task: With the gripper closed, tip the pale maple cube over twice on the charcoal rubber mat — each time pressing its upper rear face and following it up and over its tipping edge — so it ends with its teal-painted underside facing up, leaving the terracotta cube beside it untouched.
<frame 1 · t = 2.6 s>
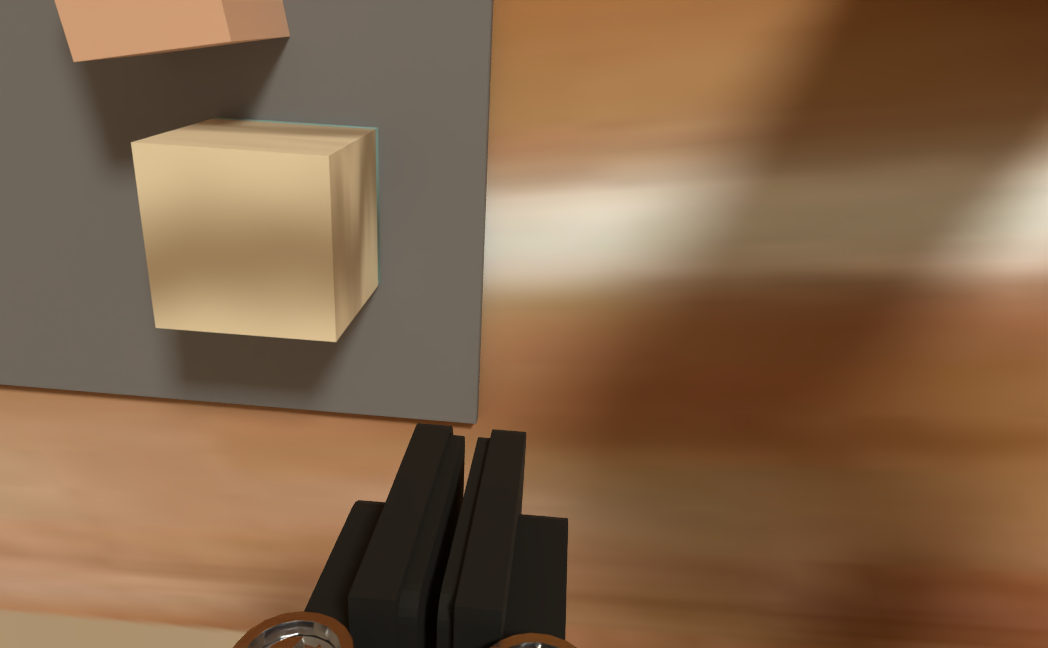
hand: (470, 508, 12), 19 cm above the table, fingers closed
maple block: (301, 202, 30), point 1 cm above the table, touching mat
mat: (132, 186, 31), on the table
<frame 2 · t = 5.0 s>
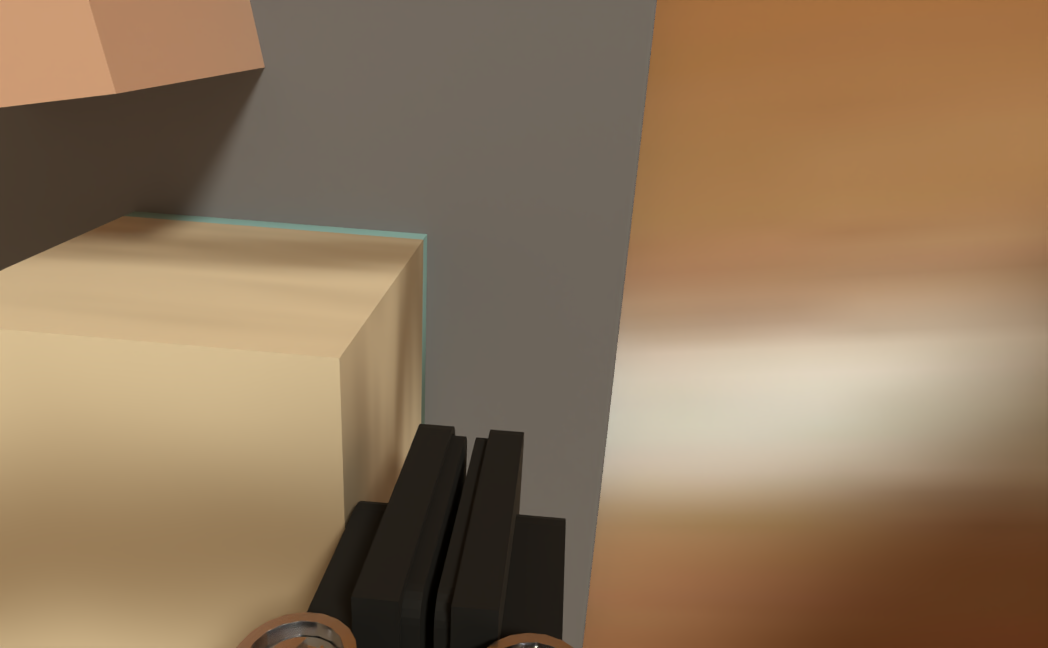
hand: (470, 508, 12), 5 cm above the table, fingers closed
maple block: (287, 358, 17), point 1 cm above the table, touching gripper, mat
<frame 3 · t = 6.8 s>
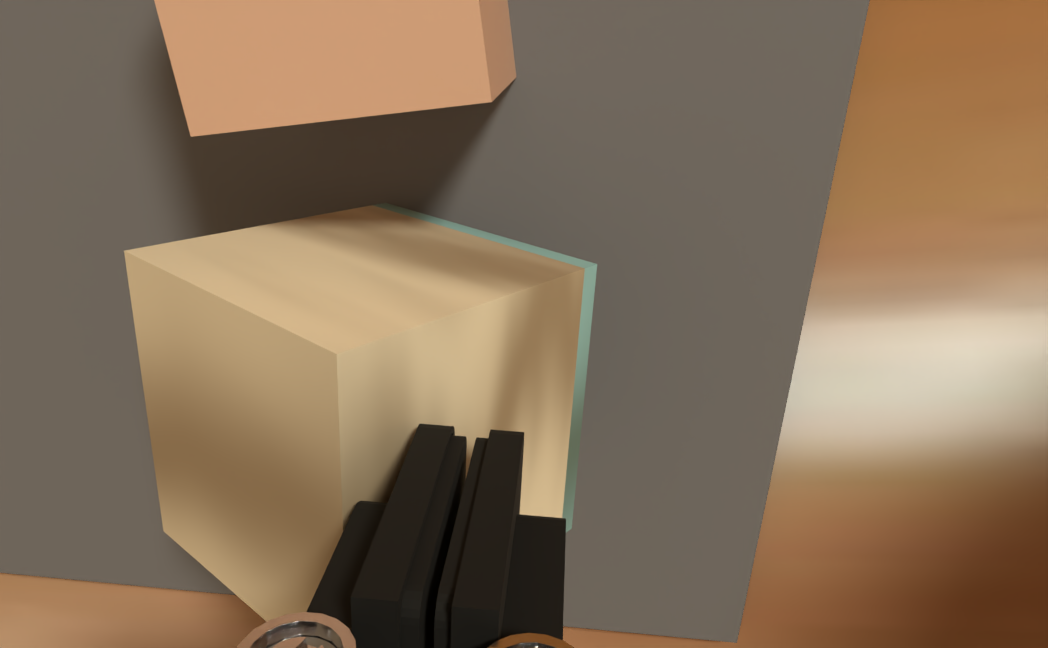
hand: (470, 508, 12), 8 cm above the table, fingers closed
maple block: (475, 359, 17), point 2 cm above the table, tilted 36°, touching gripper, mat
mat: (237, 301, 20), on the table
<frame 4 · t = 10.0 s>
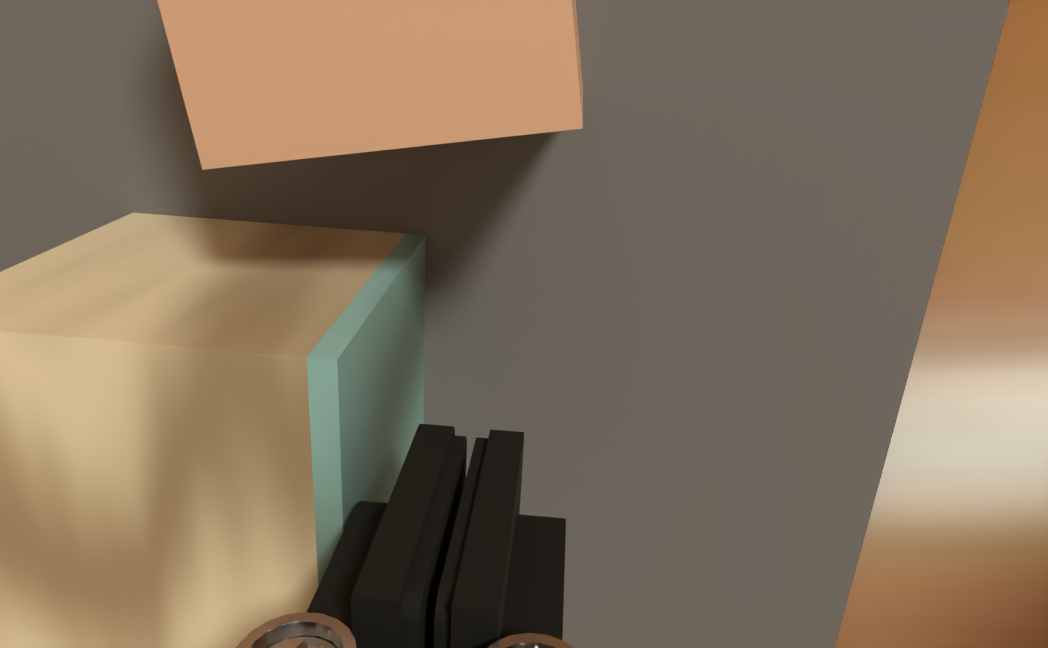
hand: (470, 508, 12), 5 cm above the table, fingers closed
maple block: (391, 442, 14), point 4 cm above the table, tilted 90°, touching gripper, mat
mat: (251, 344, 17), on the table
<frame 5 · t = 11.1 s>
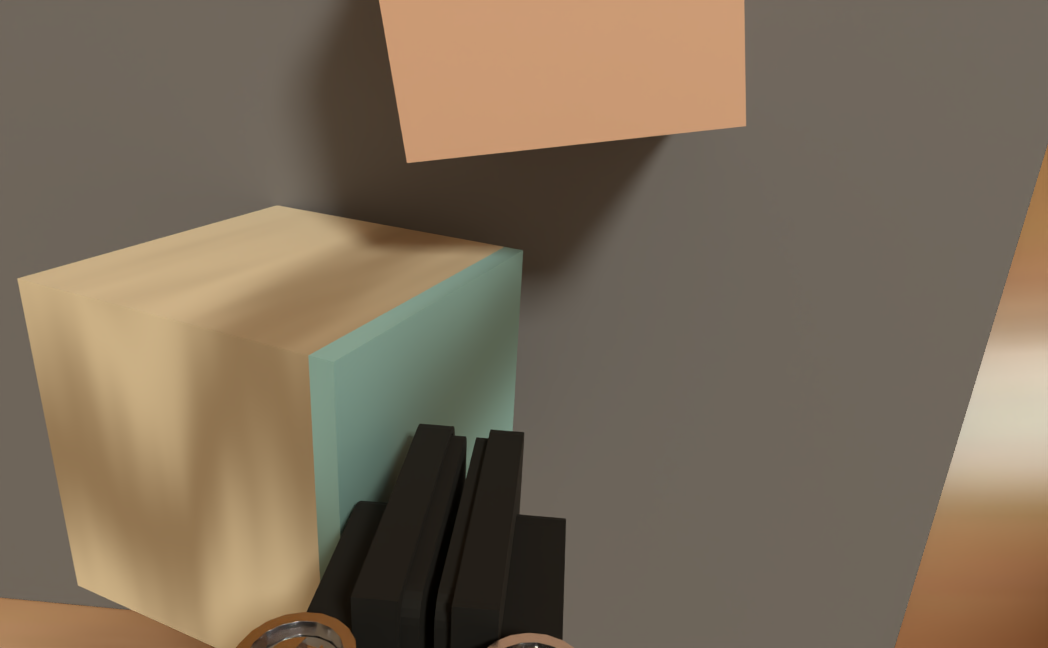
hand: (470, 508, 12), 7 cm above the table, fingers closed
maple block: (444, 454, 14), point 5 cm above the table, tilted 110°, touching gripper, mat
mat: (374, 326, 19), on the table
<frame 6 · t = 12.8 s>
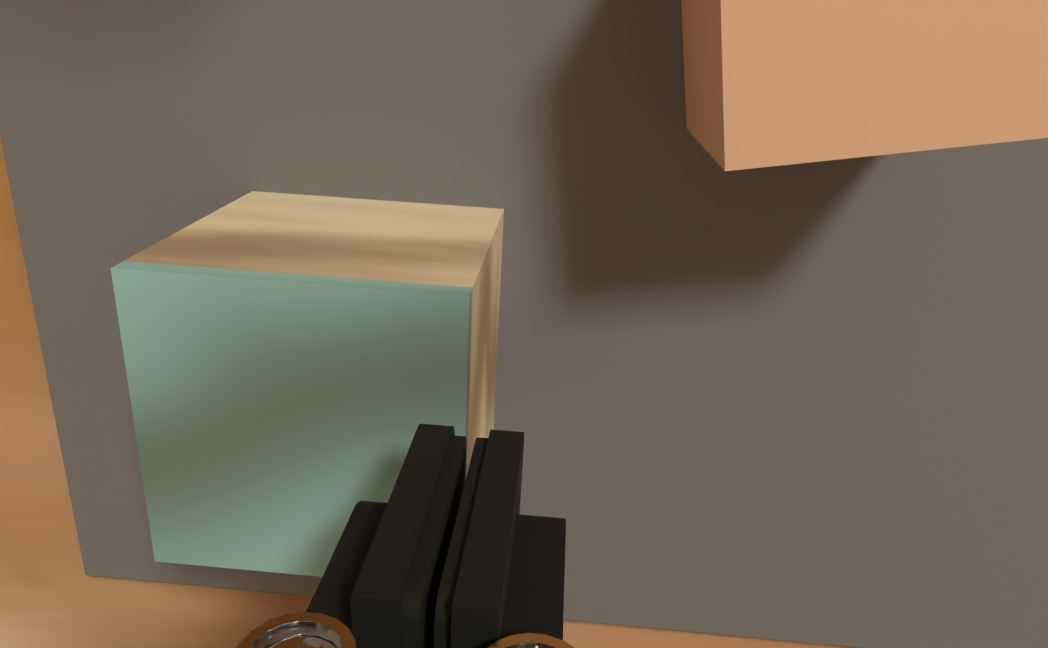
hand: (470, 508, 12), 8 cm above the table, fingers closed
maple block: (298, 440, 14), point 7 cm above the table, tilted 180°, touching mat
mat: (579, 324, 20), on the table
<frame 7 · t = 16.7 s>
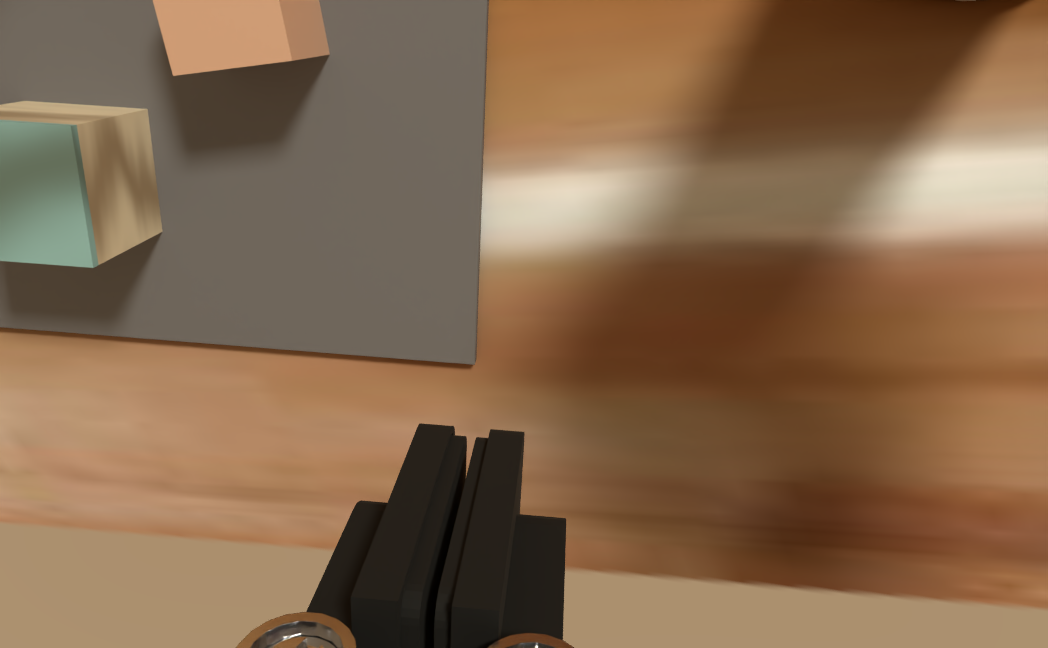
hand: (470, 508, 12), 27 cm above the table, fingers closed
maple block: (12, 194, 33), point 7 cm above the table, tilted 180°, touching mat
mat: (200, 172, 39), on the table
terracotta block: (264, 2, 35), point 1 cm above the table, touching mat
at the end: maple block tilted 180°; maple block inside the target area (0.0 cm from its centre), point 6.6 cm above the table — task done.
